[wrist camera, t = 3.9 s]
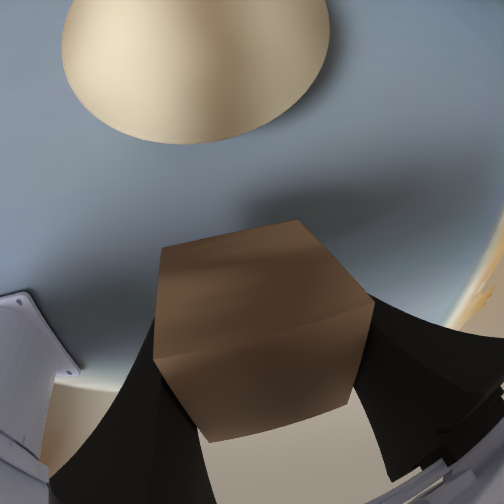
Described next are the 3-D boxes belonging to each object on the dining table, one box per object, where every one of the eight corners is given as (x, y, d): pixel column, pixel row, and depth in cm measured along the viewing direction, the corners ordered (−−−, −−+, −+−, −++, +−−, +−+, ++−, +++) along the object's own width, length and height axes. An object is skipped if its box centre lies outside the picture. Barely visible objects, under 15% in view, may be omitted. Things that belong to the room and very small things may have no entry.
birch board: (100, 164, 11) (82, 176, 9) (79, -19, 6) (64, -37, 4) (317, 123, 13) (342, 127, 11) (289, -49, 7) (307, -68, 5)
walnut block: (195, 343, 12) (209, 442, 8) (161, 248, 9) (153, 359, 5) (300, 317, 13) (347, 404, 8) (297, 219, 10) (375, 301, 6)
